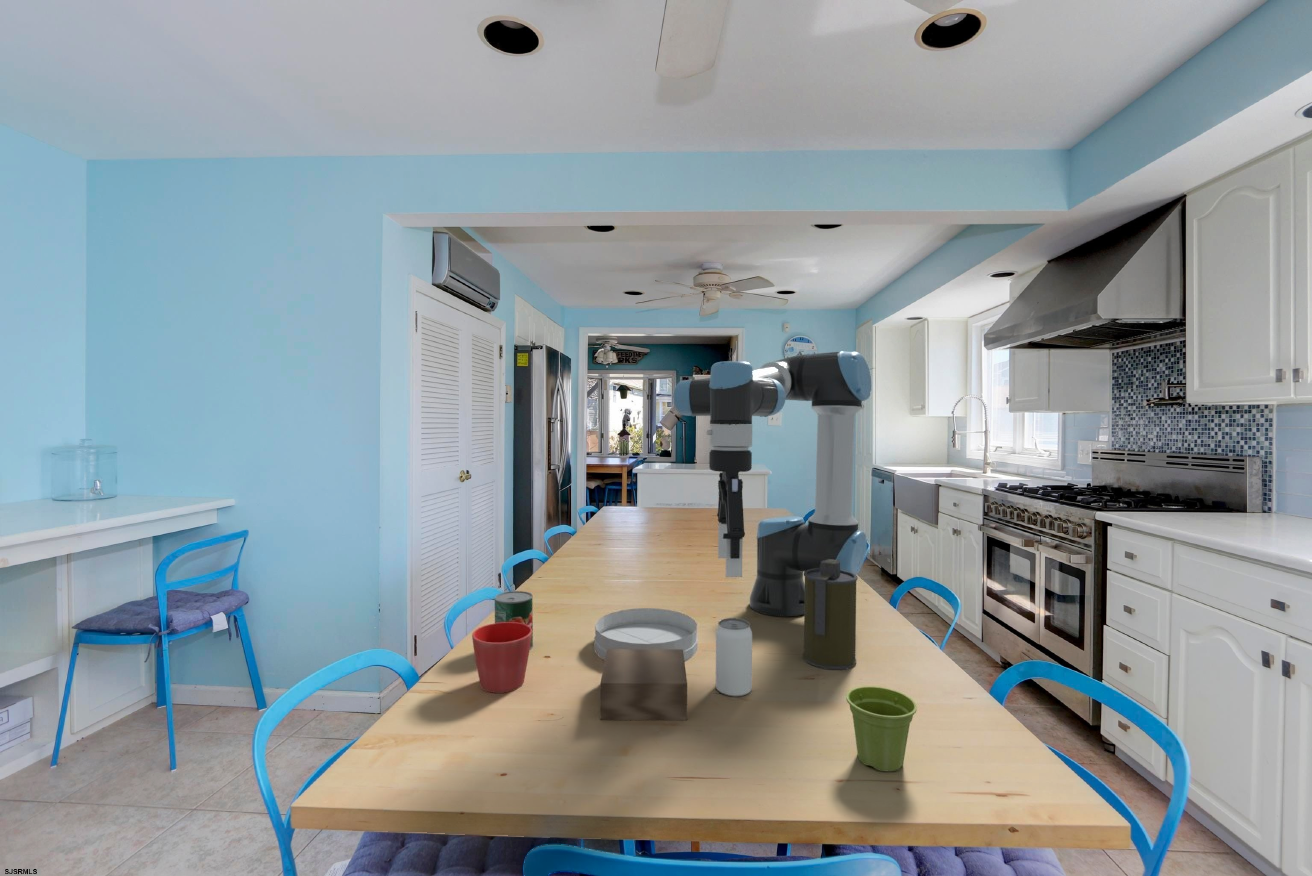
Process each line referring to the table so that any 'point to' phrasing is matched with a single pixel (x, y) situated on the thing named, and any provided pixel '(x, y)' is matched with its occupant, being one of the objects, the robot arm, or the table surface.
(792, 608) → the robot arm
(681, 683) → the walnut base
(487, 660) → the flower pot
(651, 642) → the dish
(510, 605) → the canned tomato
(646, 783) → the table surface
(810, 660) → the canister
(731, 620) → the can
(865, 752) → the plant pot
